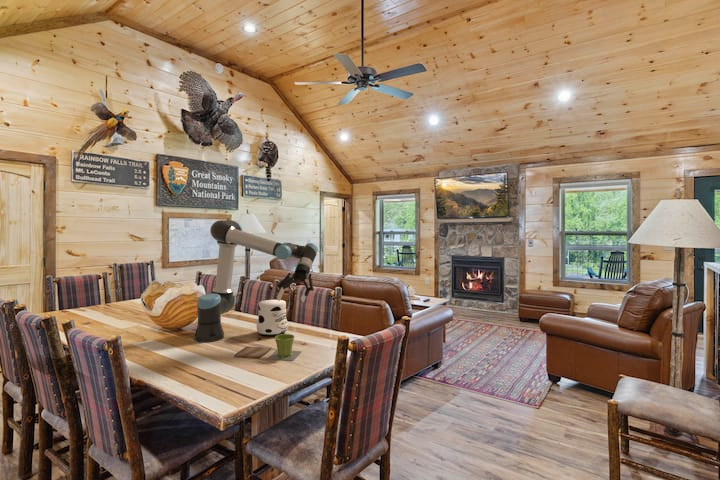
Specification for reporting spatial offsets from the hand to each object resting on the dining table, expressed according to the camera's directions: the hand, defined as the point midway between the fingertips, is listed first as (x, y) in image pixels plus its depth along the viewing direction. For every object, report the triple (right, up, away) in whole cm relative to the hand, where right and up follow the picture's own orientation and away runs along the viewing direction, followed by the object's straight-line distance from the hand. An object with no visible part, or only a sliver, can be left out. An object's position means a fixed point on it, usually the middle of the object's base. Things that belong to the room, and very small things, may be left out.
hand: (290, 300), depth 193 cm
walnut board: (-16, -24, -9) cm, 31 cm away
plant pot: (0, -24, -12) cm, 27 cm away
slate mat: (0, -24, -12) cm, 27 cm away
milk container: (-15, -23, +25) cm, 37 cm away
